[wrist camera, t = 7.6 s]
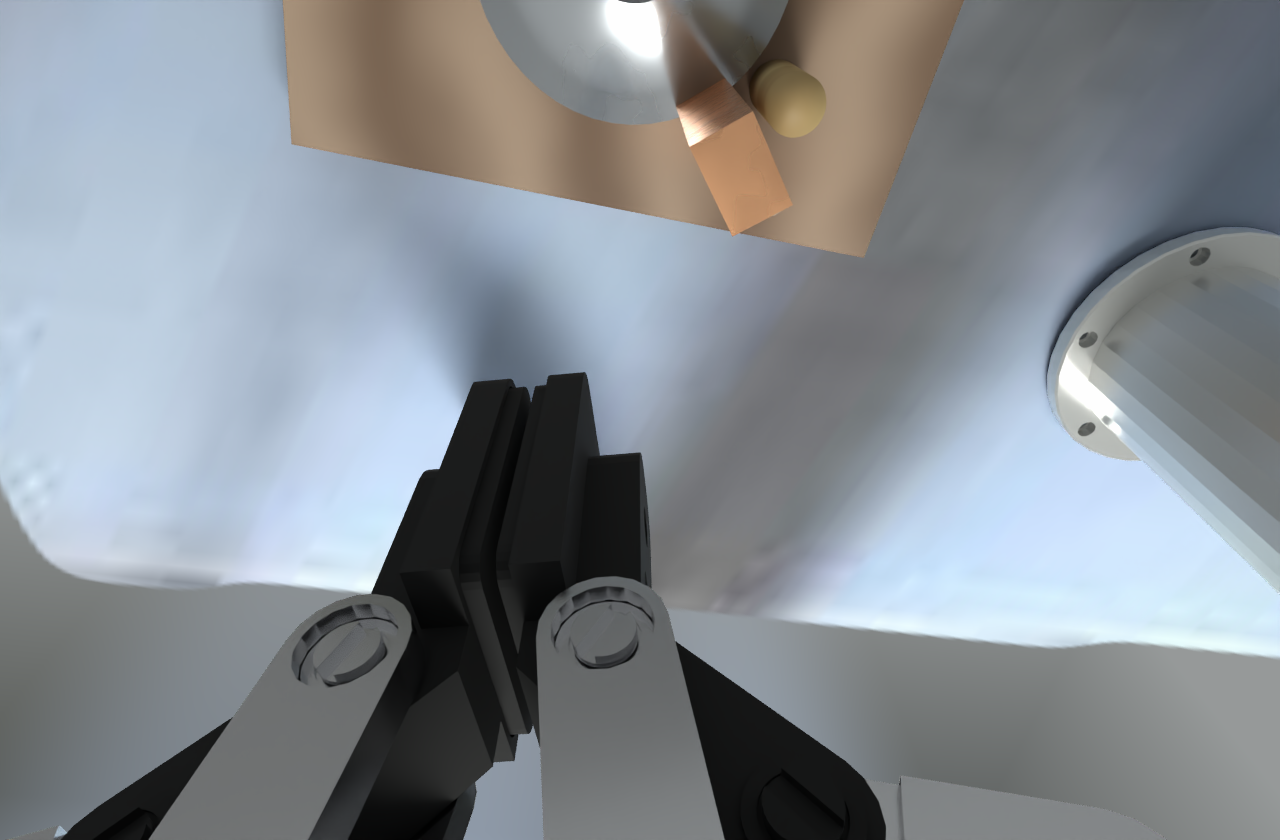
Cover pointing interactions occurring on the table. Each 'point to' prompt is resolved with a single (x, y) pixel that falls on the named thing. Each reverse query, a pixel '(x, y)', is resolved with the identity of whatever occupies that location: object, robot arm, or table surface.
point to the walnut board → (620, 153)
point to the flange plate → (659, 78)
